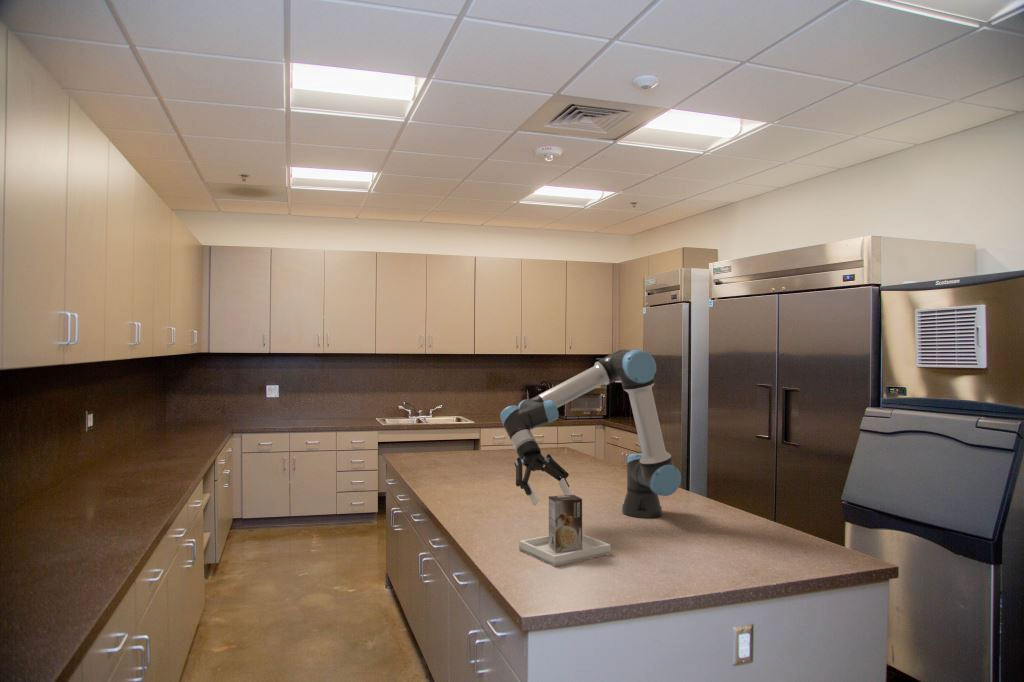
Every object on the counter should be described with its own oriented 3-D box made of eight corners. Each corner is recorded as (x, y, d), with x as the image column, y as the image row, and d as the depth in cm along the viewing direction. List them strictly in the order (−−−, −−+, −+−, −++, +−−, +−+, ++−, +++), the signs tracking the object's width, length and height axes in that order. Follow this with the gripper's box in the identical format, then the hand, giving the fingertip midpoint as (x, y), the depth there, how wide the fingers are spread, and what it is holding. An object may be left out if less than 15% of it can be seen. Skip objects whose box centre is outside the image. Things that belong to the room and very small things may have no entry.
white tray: (519, 550, 206) (519, 540, 206) (573, 539, 218) (573, 530, 218) (554, 567, 191) (554, 556, 191) (610, 554, 203) (610, 544, 203)
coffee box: (574, 544, 209) (575, 494, 209) (582, 550, 203) (583, 498, 203) (547, 546, 207) (548, 495, 207) (554, 553, 201) (555, 500, 201)
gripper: (550, 449, 230) (577, 501, 218) (490, 456, 216) (516, 512, 204) (560, 436, 226) (588, 488, 214) (499, 442, 212) (526, 498, 200)
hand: (553, 500), depth 209 cm, fingers open, 13 cm apart
